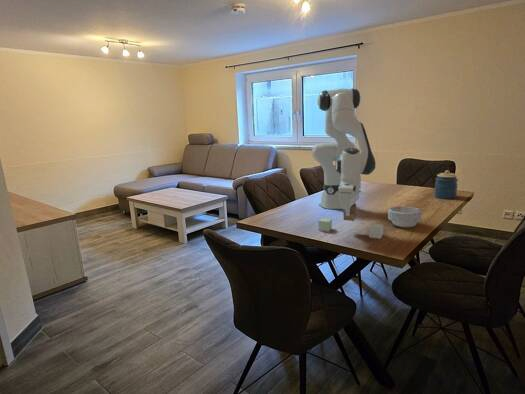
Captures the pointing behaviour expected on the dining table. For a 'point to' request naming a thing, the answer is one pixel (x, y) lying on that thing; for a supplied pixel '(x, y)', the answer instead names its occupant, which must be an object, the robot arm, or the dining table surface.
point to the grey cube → (376, 231)
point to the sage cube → (325, 224)
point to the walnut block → (352, 214)
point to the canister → (446, 185)
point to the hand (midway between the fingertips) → (349, 213)
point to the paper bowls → (404, 216)
